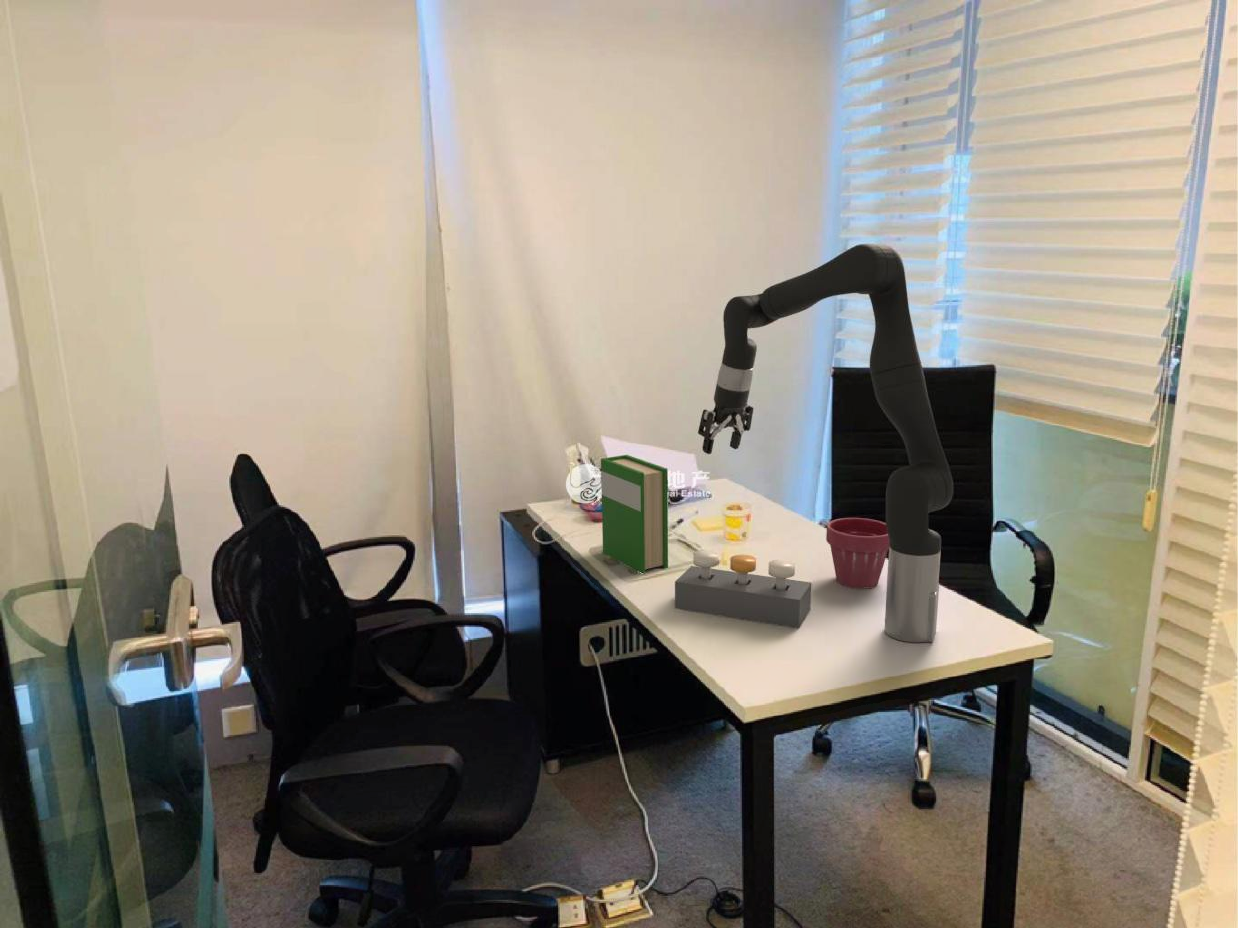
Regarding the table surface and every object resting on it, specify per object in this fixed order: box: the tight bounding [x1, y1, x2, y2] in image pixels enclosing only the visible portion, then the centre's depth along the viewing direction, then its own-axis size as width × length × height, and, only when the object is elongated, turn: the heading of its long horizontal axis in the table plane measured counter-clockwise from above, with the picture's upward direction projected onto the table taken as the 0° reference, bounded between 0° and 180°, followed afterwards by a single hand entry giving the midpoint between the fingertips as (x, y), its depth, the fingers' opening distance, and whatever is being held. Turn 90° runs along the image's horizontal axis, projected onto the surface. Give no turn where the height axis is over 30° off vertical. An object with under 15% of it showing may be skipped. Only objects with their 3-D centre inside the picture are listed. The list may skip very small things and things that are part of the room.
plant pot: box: [825, 517, 889, 589], centre depth 194 cm, size 14×14×13 cm
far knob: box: [692, 549, 720, 580], centre depth 183 cm, size 5×5×7 cm
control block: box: [674, 565, 812, 629], centre depth 181 cm, size 26×10×6 cm, turn 65°
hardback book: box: [600, 454, 669, 574], centre depth 209 cm, size 18×7×24 cm, turn 31°
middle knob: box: [729, 554, 757, 585], centre depth 180 cm, size 5×5×7 cm
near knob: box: [768, 559, 796, 591], centre depth 177 cm, size 5×5×7 cm
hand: (720, 450), depth 202 cm, fingers open, 8 cm apart
